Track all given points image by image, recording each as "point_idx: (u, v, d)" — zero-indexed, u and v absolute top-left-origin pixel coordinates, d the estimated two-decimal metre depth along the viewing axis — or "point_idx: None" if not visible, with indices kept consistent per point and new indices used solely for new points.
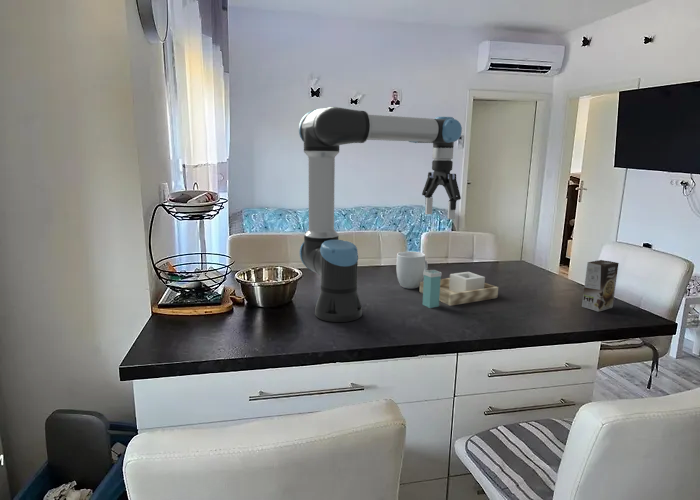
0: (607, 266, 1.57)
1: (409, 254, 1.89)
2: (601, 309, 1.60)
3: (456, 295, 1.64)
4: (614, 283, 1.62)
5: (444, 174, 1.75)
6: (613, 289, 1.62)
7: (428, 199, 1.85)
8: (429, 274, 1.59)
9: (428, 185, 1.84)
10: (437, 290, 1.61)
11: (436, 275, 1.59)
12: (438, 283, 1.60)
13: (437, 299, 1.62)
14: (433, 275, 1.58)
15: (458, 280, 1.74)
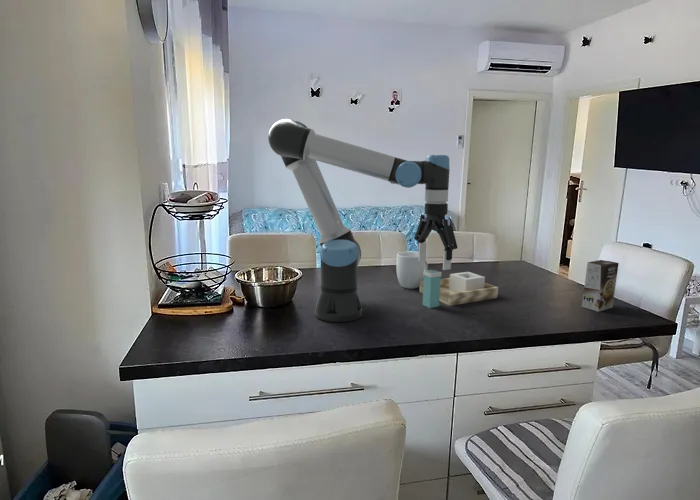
0: (607, 266, 1.57)
1: (409, 254, 1.89)
2: (601, 309, 1.60)
3: (456, 295, 1.64)
4: (614, 283, 1.62)
5: (438, 219, 1.54)
6: (613, 289, 1.62)
7: (421, 245, 1.64)
8: (429, 274, 1.59)
9: (421, 229, 1.64)
10: (437, 290, 1.61)
11: (436, 275, 1.59)
12: (438, 283, 1.60)
13: (437, 299, 1.62)
14: (433, 275, 1.58)
15: (458, 280, 1.74)
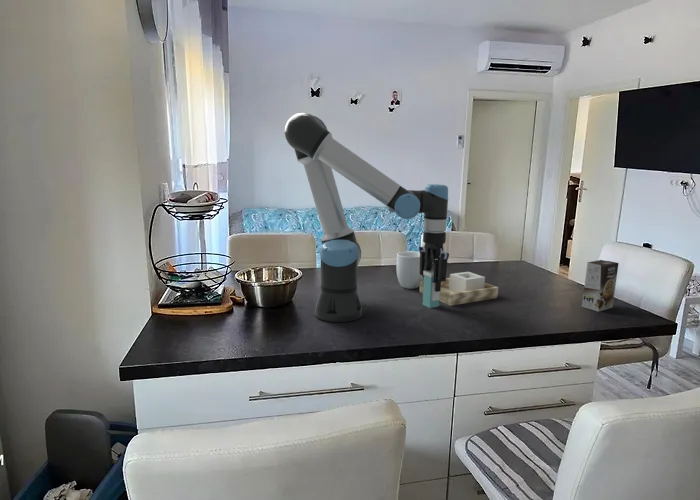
0: (607, 266, 1.57)
1: (409, 254, 1.89)
2: (601, 309, 1.60)
3: (456, 295, 1.64)
4: (614, 283, 1.62)
5: (437, 248, 1.56)
6: (613, 289, 1.62)
7: None
8: (429, 274, 1.59)
9: (423, 261, 1.64)
10: None
11: None
12: None
13: None
14: (433, 275, 1.58)
15: (458, 280, 1.74)
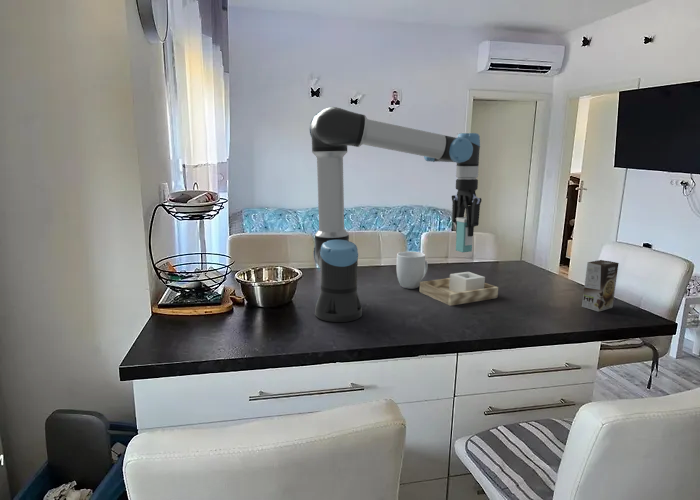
0: (607, 266, 1.57)
1: (409, 254, 1.89)
2: (601, 309, 1.60)
3: (456, 295, 1.64)
4: (614, 283, 1.62)
5: (469, 194, 1.64)
6: (613, 289, 1.62)
7: None
8: (462, 220, 1.67)
9: (456, 209, 1.72)
10: None
11: None
12: None
13: None
14: (466, 221, 1.66)
15: (458, 280, 1.74)
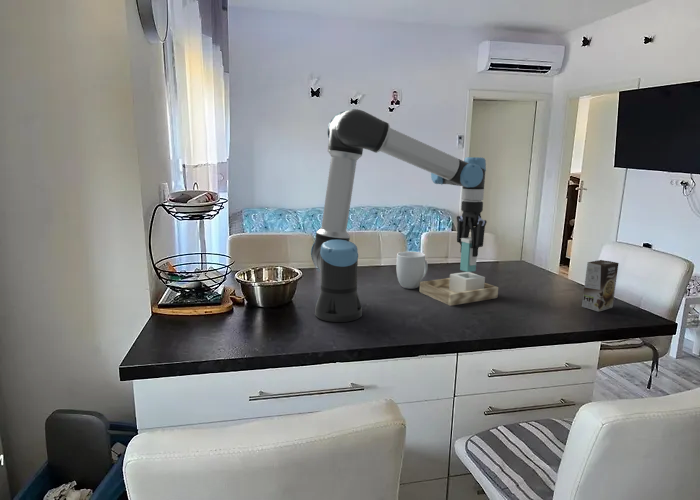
0: (607, 266, 1.57)
1: (409, 254, 1.89)
2: (601, 309, 1.60)
3: (456, 295, 1.64)
4: (614, 283, 1.62)
5: (475, 216, 1.69)
6: (613, 289, 1.62)
7: None
8: (467, 240, 1.72)
9: (460, 230, 1.77)
10: None
11: None
12: None
13: None
14: (471, 241, 1.71)
15: (458, 280, 1.74)
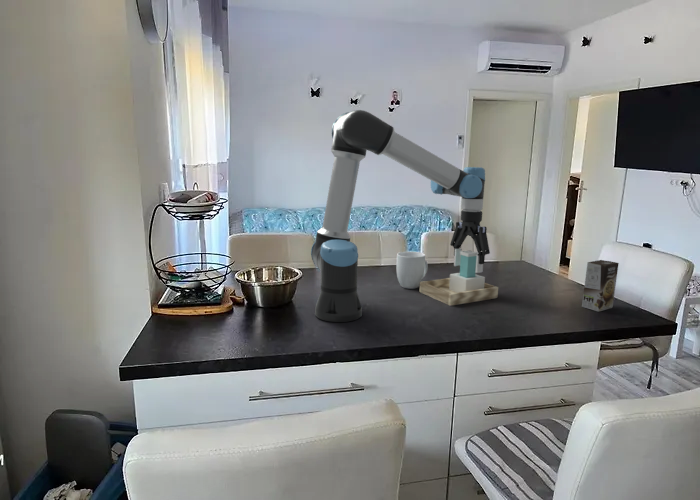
0: (607, 266, 1.57)
1: (409, 254, 1.89)
2: (601, 309, 1.60)
3: (456, 295, 1.64)
4: (614, 283, 1.62)
5: (474, 225, 1.70)
6: (613, 289, 1.62)
7: (457, 250, 1.79)
8: (466, 254, 1.73)
9: (456, 235, 1.79)
10: (473, 269, 1.75)
11: (473, 255, 1.73)
12: (474, 262, 1.74)
13: None
14: (470, 255, 1.72)
15: (458, 280, 1.74)
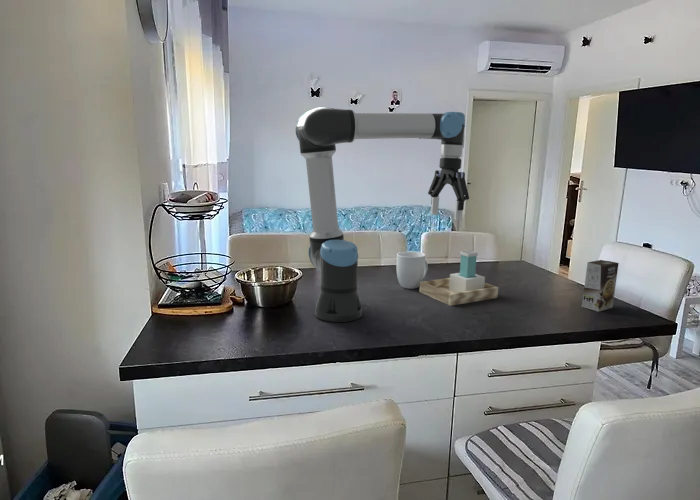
0: (607, 266, 1.57)
1: (409, 254, 1.89)
2: (601, 309, 1.60)
3: (456, 295, 1.64)
4: (614, 283, 1.62)
5: (452, 172, 1.66)
6: (613, 289, 1.62)
7: (434, 199, 1.76)
8: (466, 254, 1.73)
9: (435, 184, 1.76)
10: (473, 269, 1.75)
11: (473, 255, 1.73)
12: (474, 262, 1.74)
13: None
14: (470, 255, 1.72)
15: (458, 280, 1.74)
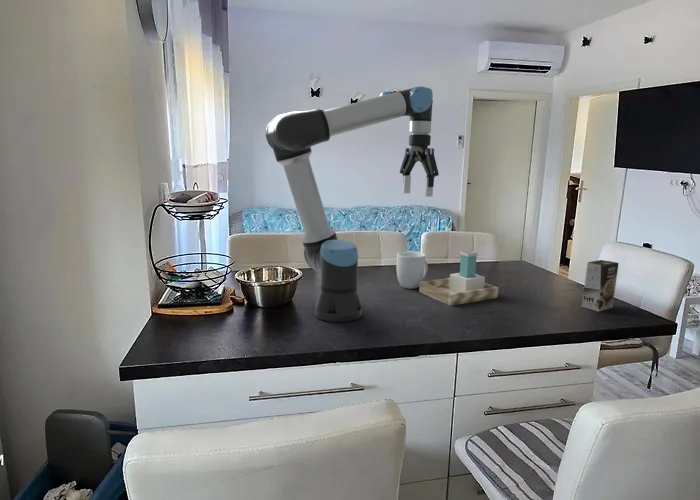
0: (607, 266, 1.57)
1: (409, 254, 1.89)
2: (601, 309, 1.60)
3: (456, 295, 1.64)
4: (614, 283, 1.62)
5: (421, 149, 1.64)
6: (613, 289, 1.62)
7: (406, 177, 1.74)
8: (466, 254, 1.73)
9: (406, 162, 1.74)
10: (473, 269, 1.75)
11: (473, 255, 1.73)
12: (474, 262, 1.74)
13: None
14: (470, 255, 1.72)
15: (458, 280, 1.74)
